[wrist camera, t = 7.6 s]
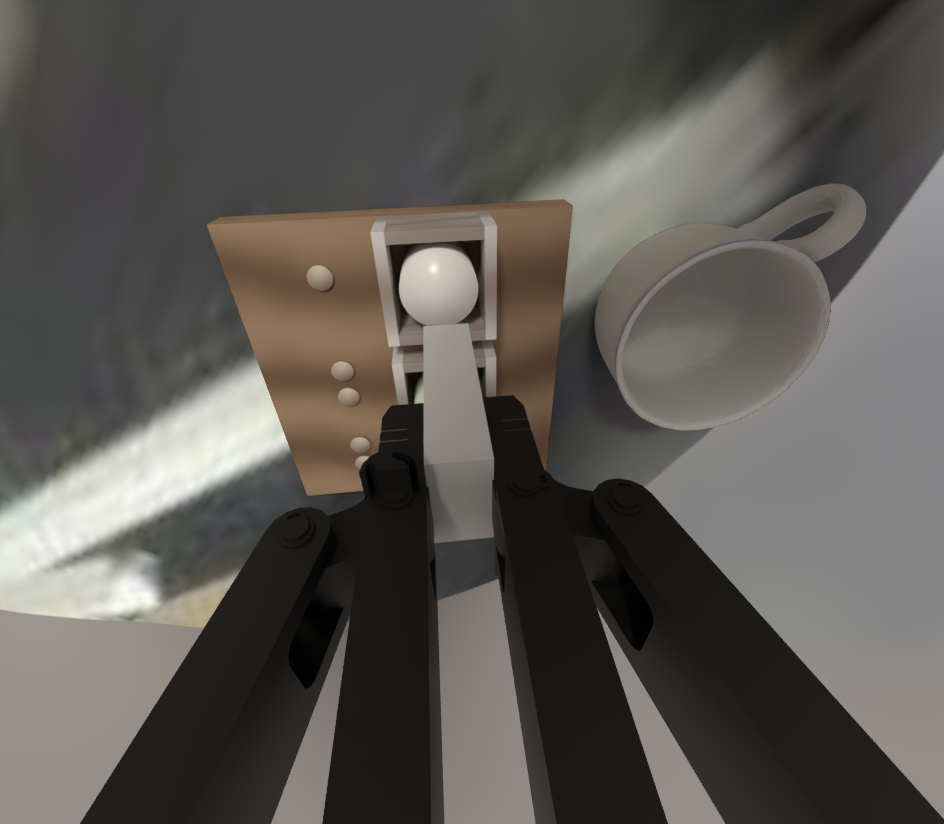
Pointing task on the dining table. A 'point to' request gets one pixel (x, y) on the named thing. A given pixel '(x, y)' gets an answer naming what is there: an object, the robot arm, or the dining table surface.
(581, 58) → the dining table surface
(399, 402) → the button board
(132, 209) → the dining table surface
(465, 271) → the button one
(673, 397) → the teacup
